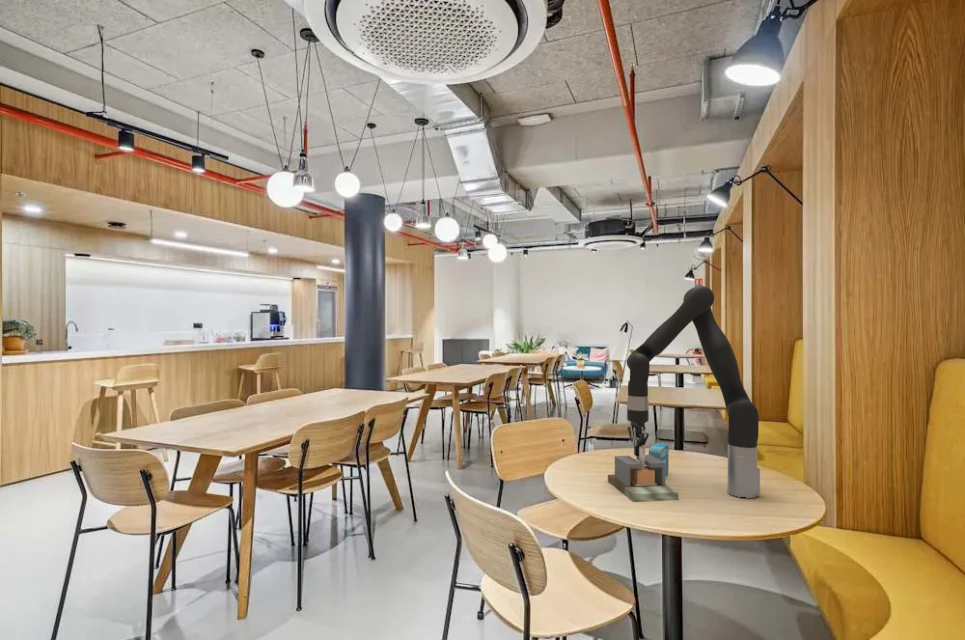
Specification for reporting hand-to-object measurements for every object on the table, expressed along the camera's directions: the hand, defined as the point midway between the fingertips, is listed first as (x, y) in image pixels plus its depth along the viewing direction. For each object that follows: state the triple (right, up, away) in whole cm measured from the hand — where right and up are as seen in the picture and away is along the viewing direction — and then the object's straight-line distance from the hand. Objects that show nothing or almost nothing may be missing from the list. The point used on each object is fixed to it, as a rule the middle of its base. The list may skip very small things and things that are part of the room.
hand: (637, 455), depth 182 cm
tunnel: (0, -9, -2) cm, 9 cm away
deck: (0, -11, -3) cm, 12 cm away
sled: (0, -9, -4) cm, 9 cm away
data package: (+12, -12, +13) cm, 21 cm away
